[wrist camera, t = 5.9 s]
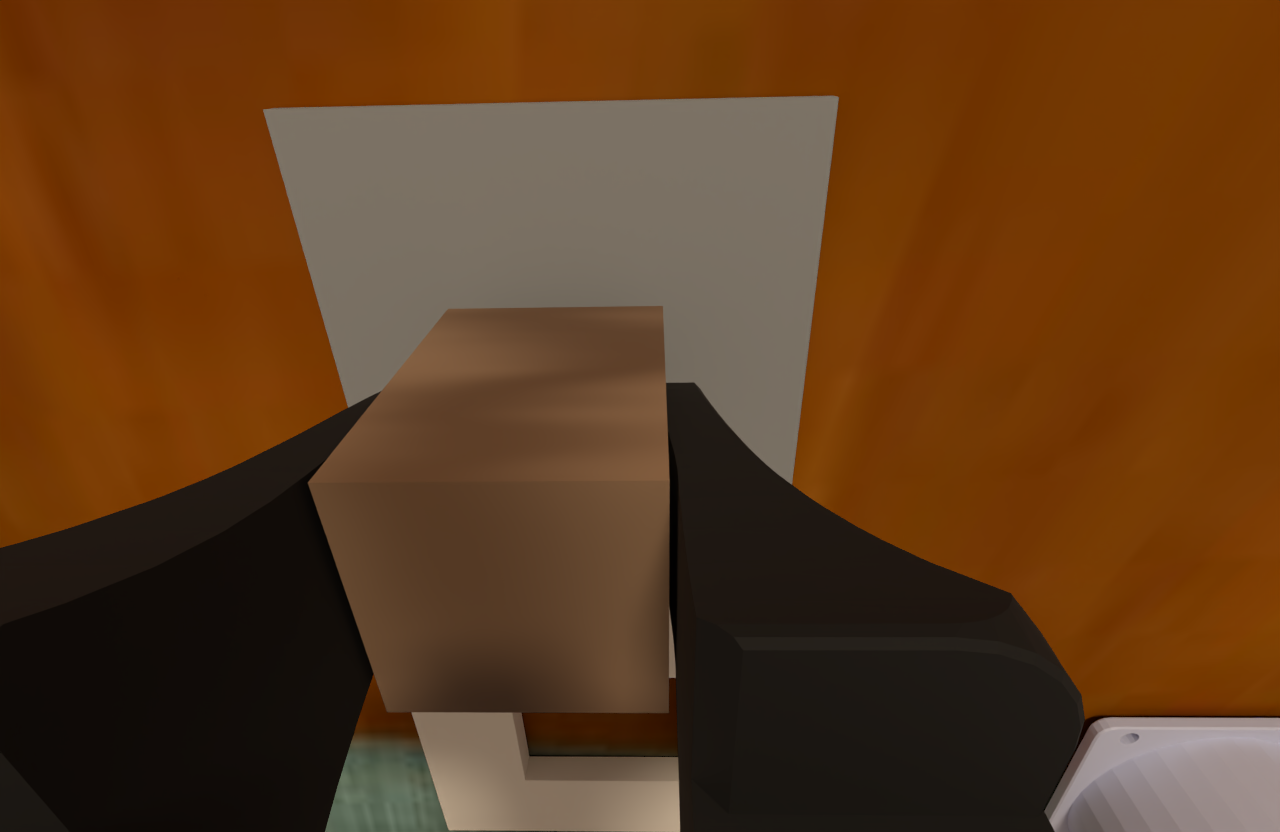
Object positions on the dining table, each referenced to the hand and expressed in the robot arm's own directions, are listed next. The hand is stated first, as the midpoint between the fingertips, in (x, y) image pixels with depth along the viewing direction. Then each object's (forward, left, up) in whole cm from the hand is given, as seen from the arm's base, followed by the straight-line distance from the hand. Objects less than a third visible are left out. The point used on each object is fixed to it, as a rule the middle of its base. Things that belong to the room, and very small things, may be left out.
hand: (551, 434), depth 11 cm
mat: (0, 0, -3) cm, 3 cm away
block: (0, 0, -2) cm, 2 cm away
